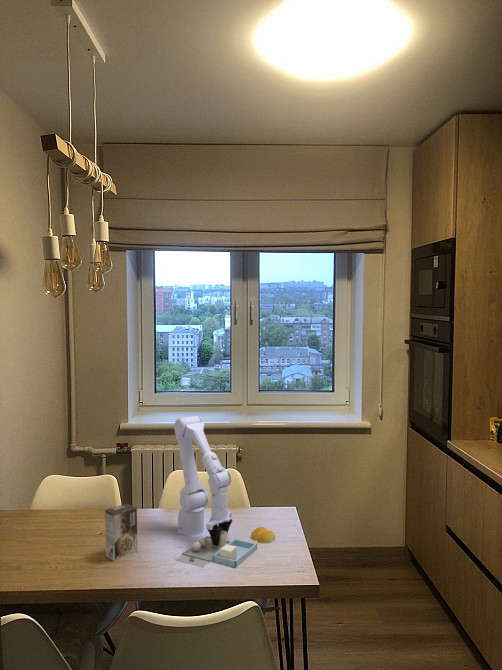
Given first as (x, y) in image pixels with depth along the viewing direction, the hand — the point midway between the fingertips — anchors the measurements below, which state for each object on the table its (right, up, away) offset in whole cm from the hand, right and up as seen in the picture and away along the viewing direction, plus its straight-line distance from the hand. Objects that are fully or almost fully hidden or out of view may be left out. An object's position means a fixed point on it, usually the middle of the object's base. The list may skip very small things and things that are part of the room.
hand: (219, 542), depth 186 cm
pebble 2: (-6, -1, -1) cm, 6 cm away
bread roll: (+16, -2, +6) cm, 17 cm away
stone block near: (+4, -1, -12) cm, 13 cm away
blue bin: (+6, -2, -8) cm, 10 cm away
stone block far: (0, -1, 0) cm, 1 cm away
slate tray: (-5, -2, -5) cm, 7 cm away
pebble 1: (-8, -1, -5) cm, 9 cm away
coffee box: (-33, -2, -7) cm, 34 cm away
